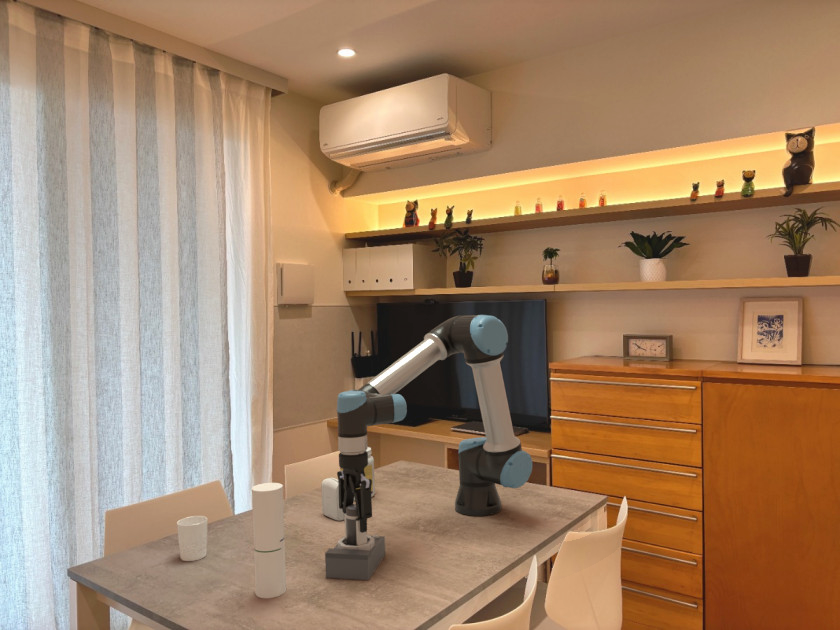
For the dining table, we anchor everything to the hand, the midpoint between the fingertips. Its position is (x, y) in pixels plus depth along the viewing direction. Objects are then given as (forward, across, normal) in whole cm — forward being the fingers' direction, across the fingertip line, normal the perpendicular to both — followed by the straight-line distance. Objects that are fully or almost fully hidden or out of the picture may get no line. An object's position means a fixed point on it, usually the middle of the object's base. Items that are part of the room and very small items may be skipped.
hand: (356, 540), depth 162 cm
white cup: (+7, +36, +31) cm, 48 cm away
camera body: (+7, 0, 0) cm, 7 cm away
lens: (0, 0, 0) cm, 0 cm away
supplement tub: (+7, +51, -32) cm, 61 cm away
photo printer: (+7, +38, -15) cm, 41 cm away
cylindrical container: (+7, +1, +23) cm, 24 cm away
